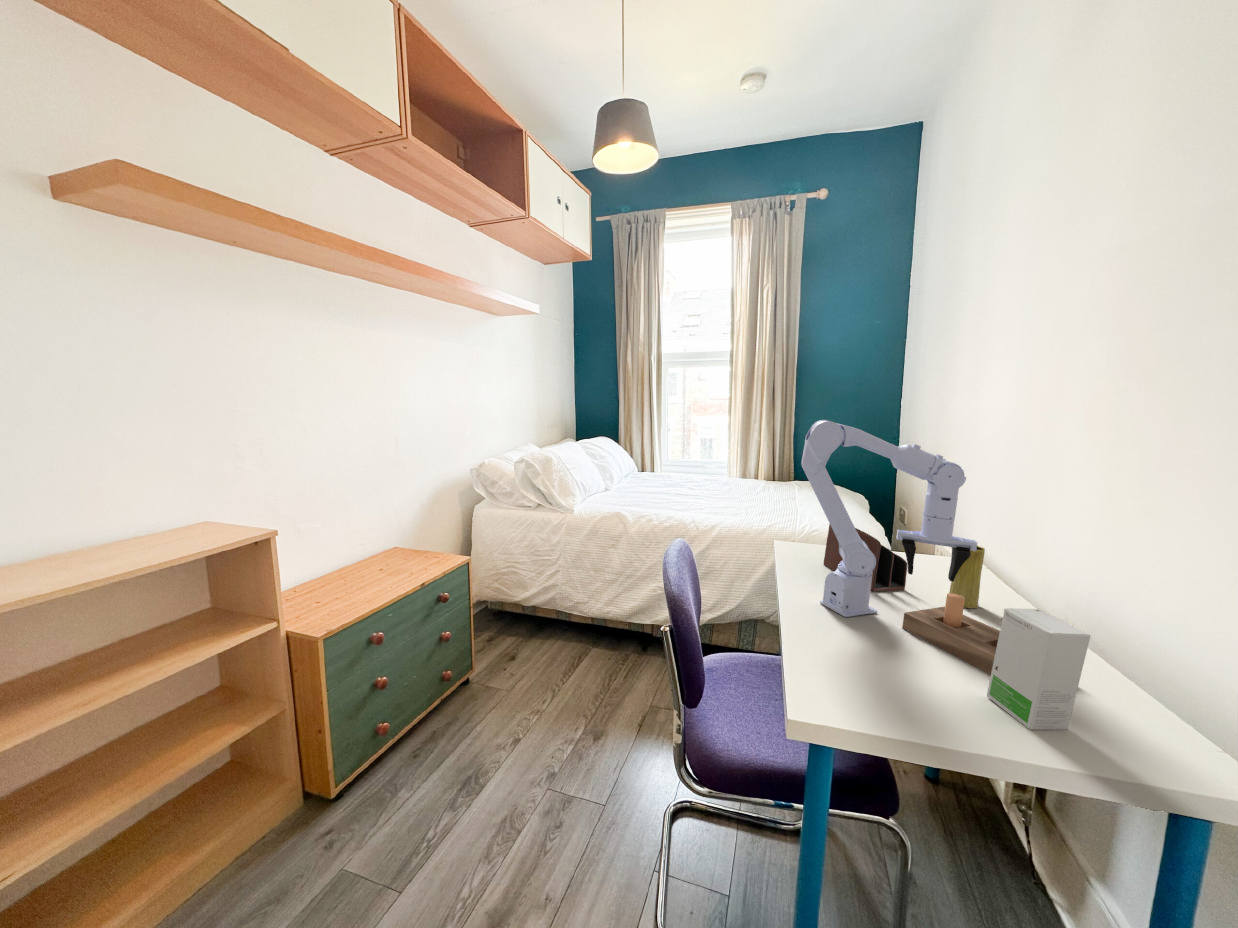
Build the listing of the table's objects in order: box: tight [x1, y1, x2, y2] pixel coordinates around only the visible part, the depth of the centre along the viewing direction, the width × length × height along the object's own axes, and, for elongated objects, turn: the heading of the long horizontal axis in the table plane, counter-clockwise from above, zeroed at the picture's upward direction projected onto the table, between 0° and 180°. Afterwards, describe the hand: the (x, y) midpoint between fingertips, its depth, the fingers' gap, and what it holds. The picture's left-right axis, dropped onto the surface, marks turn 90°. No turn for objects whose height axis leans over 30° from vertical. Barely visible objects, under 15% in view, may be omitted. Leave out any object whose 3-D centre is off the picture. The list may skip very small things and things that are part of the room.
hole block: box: [901, 606, 1000, 675], centre depth 94 cm, size 12×22×4 cm, turn 20°
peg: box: [943, 592, 965, 629], centre depth 98 cm, size 3×3×9 cm
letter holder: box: [823, 523, 908, 593], centre depth 131 cm, size 10×20×14 cm, turn 13°
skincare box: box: [986, 607, 1092, 731], centre depth 74 cm, size 8×7×16 cm
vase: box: [948, 545, 986, 609], centre depth 116 cm, size 6×6×14 cm
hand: (930, 576), depth 106 cm, fingers open, 7 cm apart
